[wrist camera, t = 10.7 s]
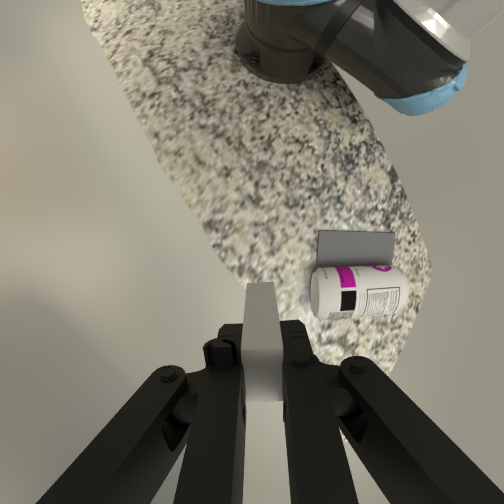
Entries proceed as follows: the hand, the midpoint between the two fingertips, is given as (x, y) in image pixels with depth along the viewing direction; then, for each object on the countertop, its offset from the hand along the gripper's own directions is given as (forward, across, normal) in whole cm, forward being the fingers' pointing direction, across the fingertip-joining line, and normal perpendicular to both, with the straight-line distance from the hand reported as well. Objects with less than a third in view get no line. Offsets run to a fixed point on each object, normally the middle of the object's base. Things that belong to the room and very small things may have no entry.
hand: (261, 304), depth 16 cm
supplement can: (+25, +8, -11) cm, 28 cm away
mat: (+30, +16, -9) cm, 35 cm away
